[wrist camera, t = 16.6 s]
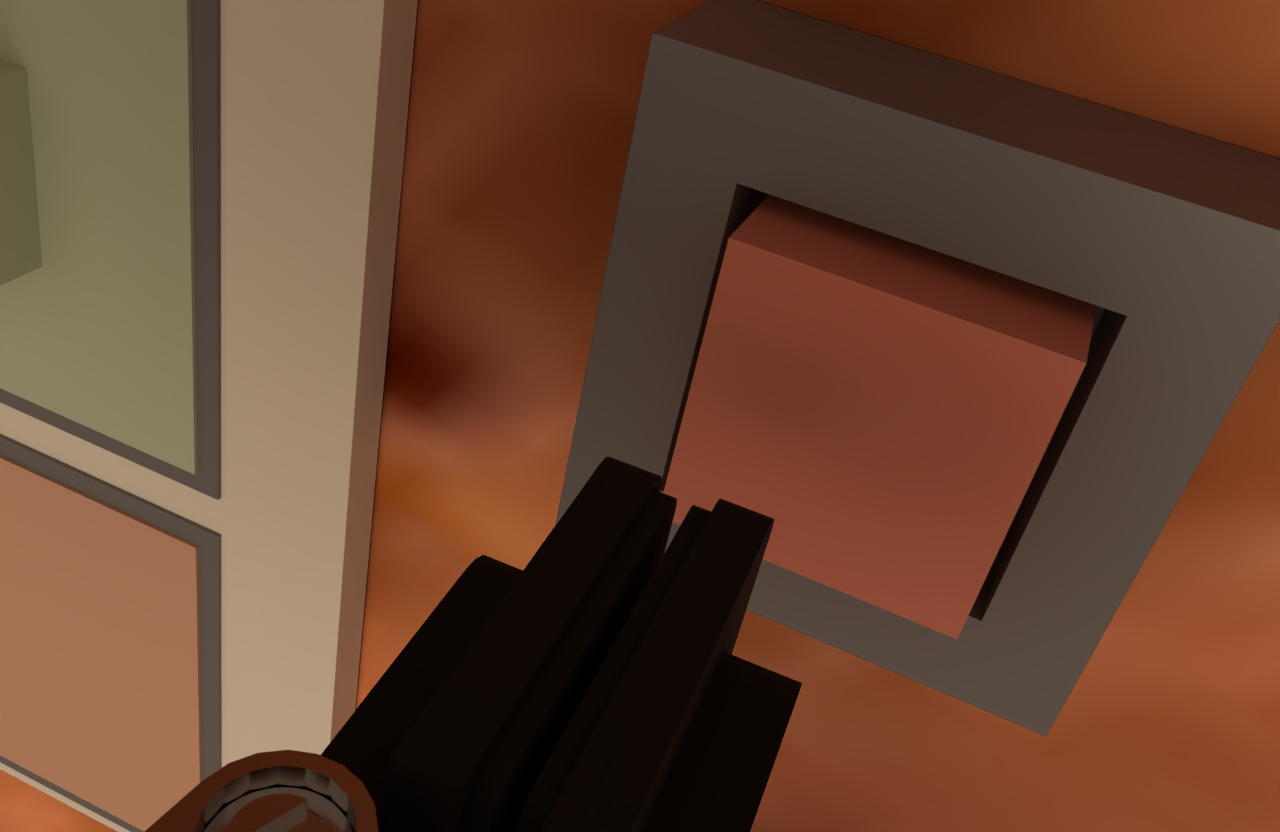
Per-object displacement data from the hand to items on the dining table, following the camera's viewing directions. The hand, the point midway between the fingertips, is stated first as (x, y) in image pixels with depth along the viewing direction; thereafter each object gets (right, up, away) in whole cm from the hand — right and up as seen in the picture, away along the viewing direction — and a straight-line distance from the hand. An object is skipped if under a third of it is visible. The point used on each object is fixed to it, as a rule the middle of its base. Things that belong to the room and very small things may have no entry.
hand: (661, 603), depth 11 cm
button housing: (+4, +3, +7) cm, 9 cm away
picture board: (-14, +2, +16) cm, 21 cm away
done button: (+4, +3, +6) cm, 8 cm away
